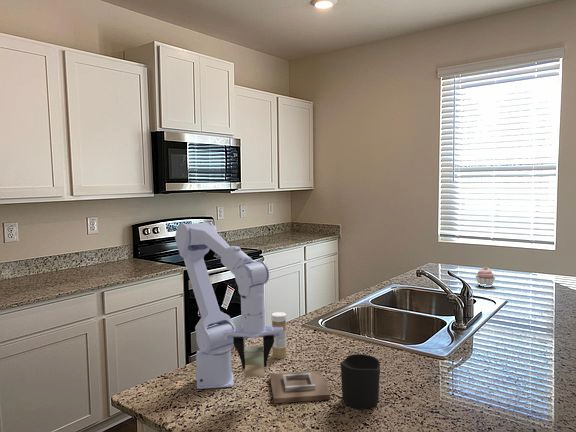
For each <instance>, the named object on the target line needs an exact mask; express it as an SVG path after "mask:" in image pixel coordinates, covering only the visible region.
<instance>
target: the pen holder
mask: <svg viewBox="0 0 576 432" xmlns="http://www.w3.org/2000/svg"><path fill="white" fill-rule="evenodd" d="M380 371H381V362H380V360H379V359H378V358H377V357H375V356H372V355H368V354H363V353H361V354H359V353H355V354H350V355H348V356H347V357H345V358H344V360H342V361H341V362H340V377H341V394H342V396H341V397H342V401H343V403H344V404H345V406H347V407H349V408H350V409H351V408H352V409H355V410H370V409H372V408H375V407H376V406H377V405H378V403H379V400H380V399H379V397H380V395H379V394H380V374H381V372H380Z"/></svg>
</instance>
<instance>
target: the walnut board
mask: <svg viewBox="0 0 576 432" xmlns="http://www.w3.org/2000/svg"><path fill="white" fill-rule="evenodd" d="M269 381H270V388H271V392H272V399H273V404H284V403H285V404H286V403H295V402H299V403H300V402H311V401H312V402H313V401H326V400H331V392H330V390H329V388H328V386H327V383H326V381H325V379H324V377H323V374H322V371H321V370H316V371H315V370H313V371H299V372H297V371H296V372H283V373H282V372H281V373H270V374H269Z"/></svg>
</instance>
